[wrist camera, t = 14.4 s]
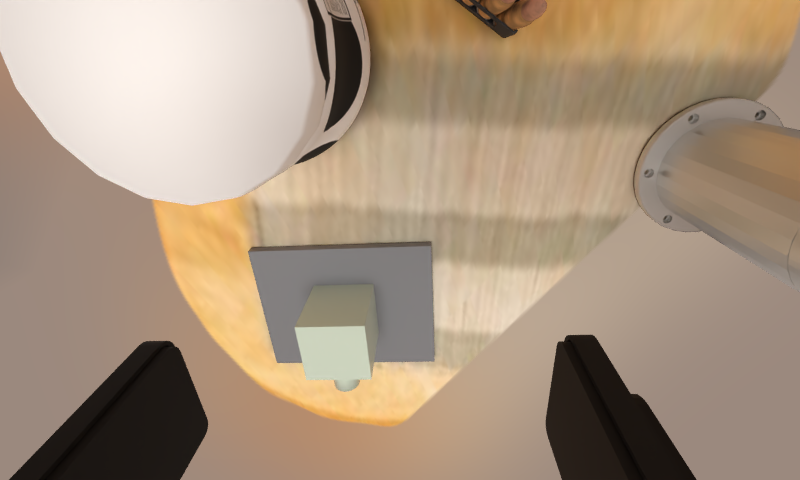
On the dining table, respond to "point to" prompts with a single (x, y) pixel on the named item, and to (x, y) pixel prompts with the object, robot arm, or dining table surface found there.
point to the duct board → (350, 265)
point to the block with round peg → (339, 334)
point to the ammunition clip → (505, 13)
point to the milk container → (189, 86)
